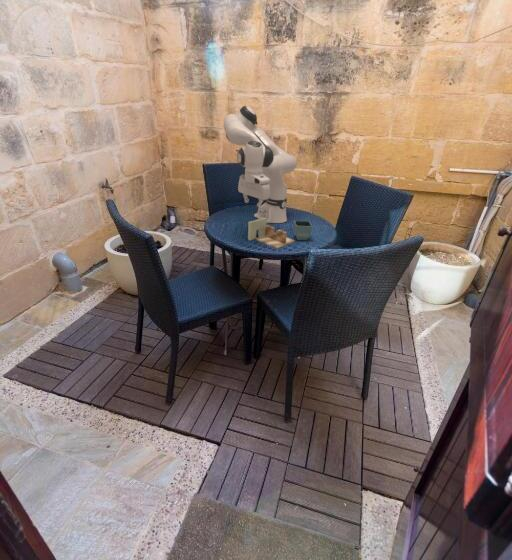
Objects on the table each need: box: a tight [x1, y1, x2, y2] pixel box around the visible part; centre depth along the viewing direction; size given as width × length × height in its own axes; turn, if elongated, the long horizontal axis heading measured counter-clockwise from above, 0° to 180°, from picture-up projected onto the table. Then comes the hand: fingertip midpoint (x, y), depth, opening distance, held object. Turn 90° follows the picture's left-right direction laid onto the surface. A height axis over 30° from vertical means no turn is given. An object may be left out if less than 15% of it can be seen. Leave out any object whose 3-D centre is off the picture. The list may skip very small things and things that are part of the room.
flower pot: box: [293, 220, 313, 241], centre depth 175 cm, size 9×9×9 cm
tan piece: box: [255, 224, 295, 250], centre depth 171 cm, size 16×14×7 cm
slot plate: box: [247, 217, 268, 241], centre depth 174 cm, size 2×12×10 cm, turn 134°
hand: (252, 204), depth 165 cm, fingers open, 8 cm apart
